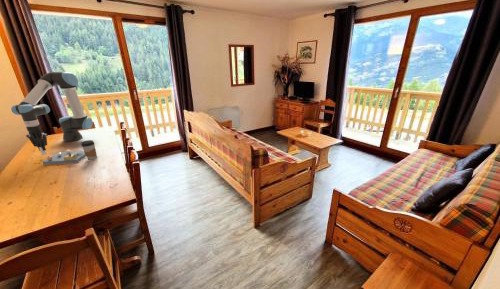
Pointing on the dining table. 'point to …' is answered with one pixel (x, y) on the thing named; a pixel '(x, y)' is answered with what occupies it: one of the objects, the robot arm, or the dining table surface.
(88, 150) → the coffee cup
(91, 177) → the dining table surface
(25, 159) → the dining table surface
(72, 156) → the brass cover
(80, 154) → the board
